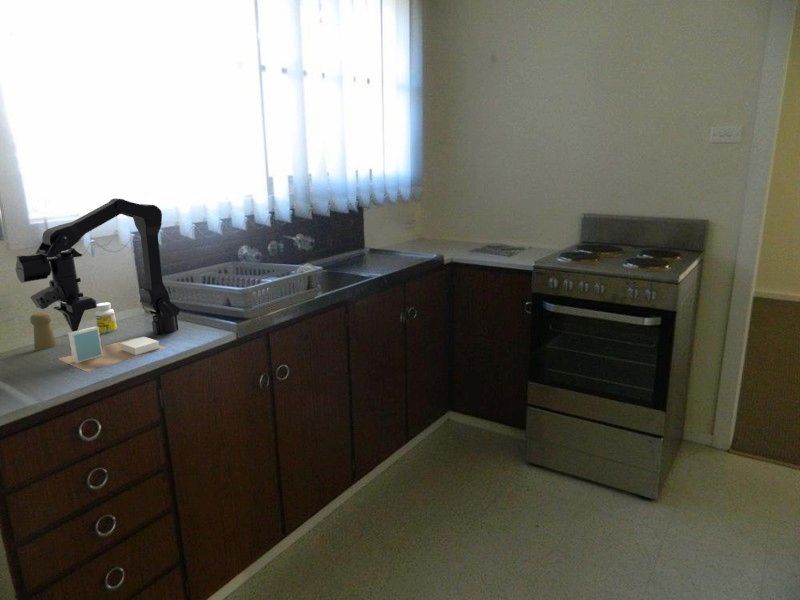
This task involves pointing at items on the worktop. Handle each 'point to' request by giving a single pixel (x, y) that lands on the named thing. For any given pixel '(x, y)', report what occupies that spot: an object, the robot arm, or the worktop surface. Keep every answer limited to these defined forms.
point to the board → (105, 357)
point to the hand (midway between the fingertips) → (74, 331)
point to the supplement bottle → (105, 318)
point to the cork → (43, 331)
